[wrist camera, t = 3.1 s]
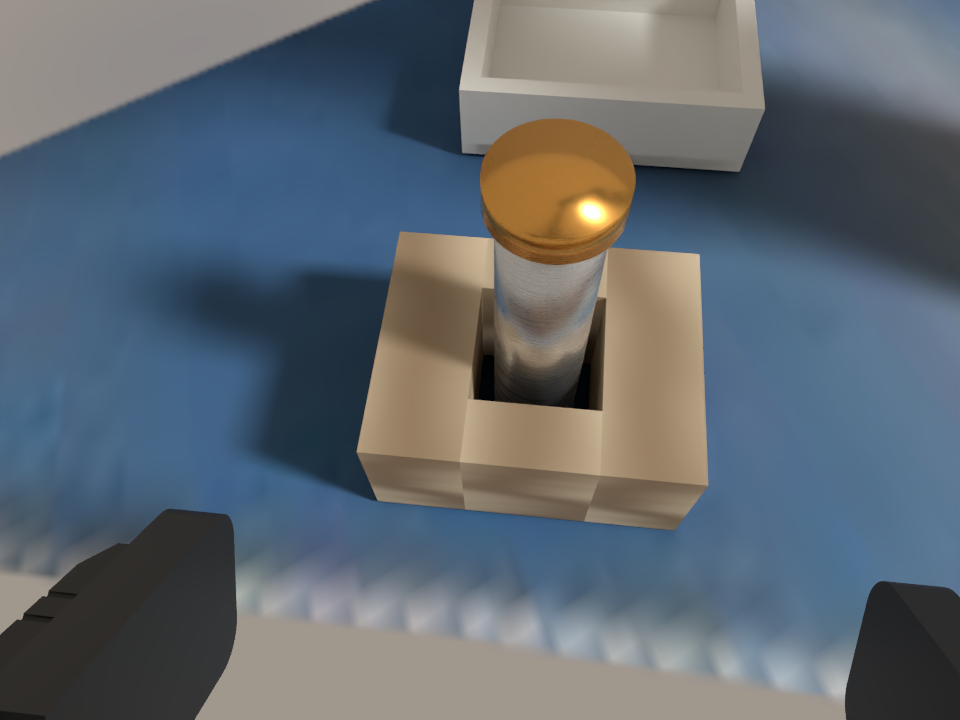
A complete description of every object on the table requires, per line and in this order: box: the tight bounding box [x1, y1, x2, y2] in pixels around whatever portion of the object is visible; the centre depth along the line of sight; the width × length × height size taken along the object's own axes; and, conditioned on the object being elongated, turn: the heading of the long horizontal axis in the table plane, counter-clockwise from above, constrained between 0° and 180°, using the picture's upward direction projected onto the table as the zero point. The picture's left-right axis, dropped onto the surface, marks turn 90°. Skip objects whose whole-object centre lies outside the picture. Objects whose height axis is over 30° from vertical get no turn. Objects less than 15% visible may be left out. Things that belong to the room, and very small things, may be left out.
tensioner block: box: [357, 232, 708, 530], centre depth 25 cm, size 10×8×4 cm
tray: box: [459, 0, 765, 172], centre depth 34 cm, size 12×10×4 cm
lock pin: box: [480, 119, 636, 408], centre depth 22 cm, size 3×3×12 cm
